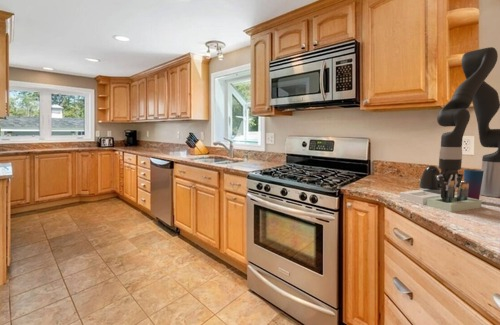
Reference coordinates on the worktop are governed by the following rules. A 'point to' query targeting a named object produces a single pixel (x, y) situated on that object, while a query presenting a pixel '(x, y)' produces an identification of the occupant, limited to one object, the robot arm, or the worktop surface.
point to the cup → (473, 182)
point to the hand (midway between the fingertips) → (447, 197)
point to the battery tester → (420, 195)
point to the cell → (449, 193)
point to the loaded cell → (462, 191)
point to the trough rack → (454, 204)
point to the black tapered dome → (429, 178)
